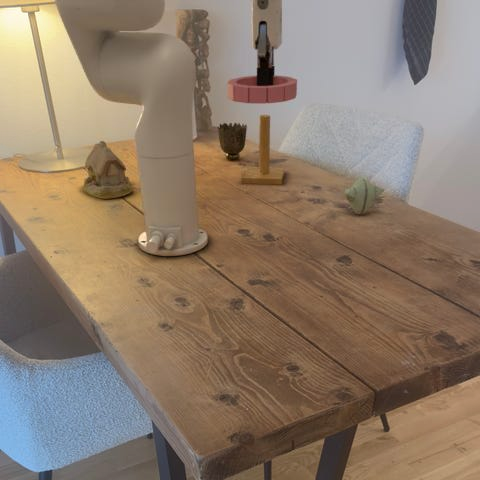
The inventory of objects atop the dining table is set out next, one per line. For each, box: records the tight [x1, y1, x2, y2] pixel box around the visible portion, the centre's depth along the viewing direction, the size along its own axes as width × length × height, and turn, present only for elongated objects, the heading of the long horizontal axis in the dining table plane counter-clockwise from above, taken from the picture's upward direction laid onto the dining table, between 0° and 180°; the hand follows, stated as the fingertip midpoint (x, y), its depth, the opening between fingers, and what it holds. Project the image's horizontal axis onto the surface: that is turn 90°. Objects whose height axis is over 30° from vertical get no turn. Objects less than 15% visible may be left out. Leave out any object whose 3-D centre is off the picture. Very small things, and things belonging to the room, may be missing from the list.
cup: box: [216, 122, 248, 162], centre depth 145 cm, size 8×7×8 cm
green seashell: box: [344, 177, 385, 216], centre depth 111 cm, size 8×4×7 cm, turn 103°
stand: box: [242, 114, 286, 185], centre depth 129 cm, size 9×9×13 cm
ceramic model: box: [82, 140, 134, 200], centre depth 125 cm, size 14×11×10 cm
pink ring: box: [226, 74, 298, 105], centre depth 109 cm, size 13×13×3 cm
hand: (265, 89), depth 114 cm, fingers closed on pink ring
